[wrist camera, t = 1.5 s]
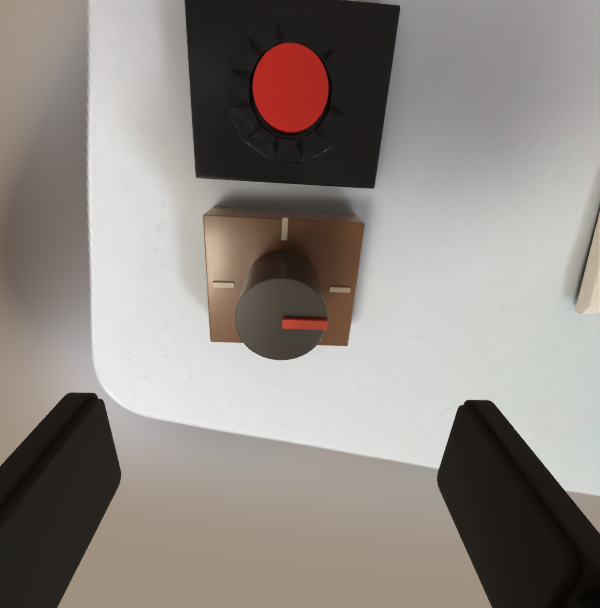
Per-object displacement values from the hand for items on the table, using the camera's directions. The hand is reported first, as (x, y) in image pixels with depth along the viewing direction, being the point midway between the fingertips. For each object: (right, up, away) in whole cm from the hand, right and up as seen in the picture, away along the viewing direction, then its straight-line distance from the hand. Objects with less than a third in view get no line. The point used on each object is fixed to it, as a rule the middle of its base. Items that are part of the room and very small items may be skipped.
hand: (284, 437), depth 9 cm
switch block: (0, +16, +12) cm, 20 cm away
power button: (0, +15, +8) cm, 17 cm away
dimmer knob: (-1, +5, +13) cm, 14 cm away
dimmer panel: (-1, +6, +16) cm, 17 cm away
